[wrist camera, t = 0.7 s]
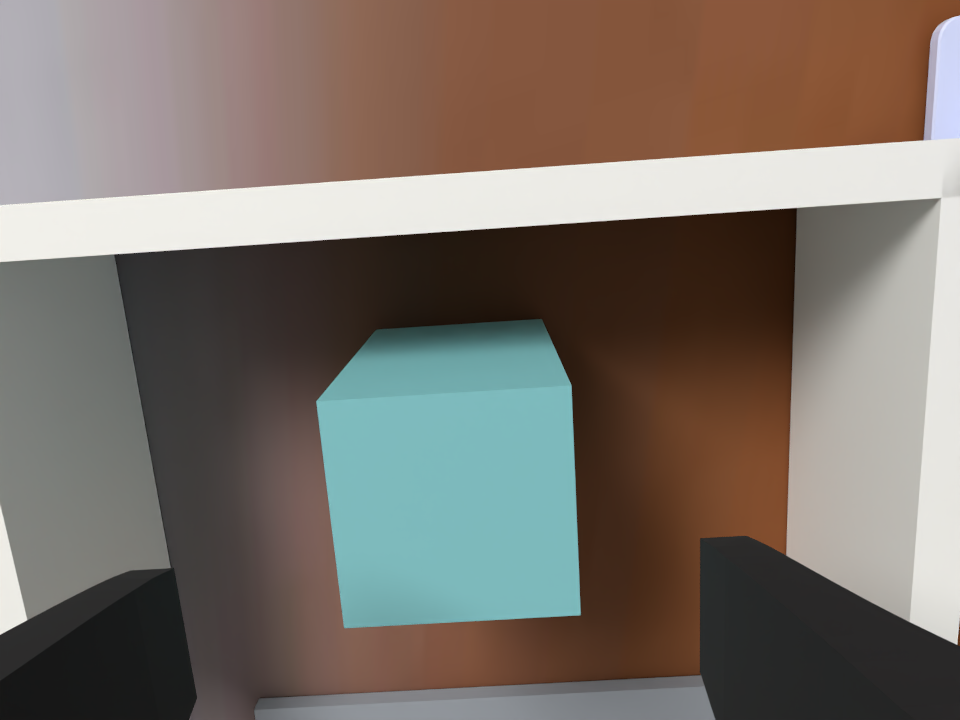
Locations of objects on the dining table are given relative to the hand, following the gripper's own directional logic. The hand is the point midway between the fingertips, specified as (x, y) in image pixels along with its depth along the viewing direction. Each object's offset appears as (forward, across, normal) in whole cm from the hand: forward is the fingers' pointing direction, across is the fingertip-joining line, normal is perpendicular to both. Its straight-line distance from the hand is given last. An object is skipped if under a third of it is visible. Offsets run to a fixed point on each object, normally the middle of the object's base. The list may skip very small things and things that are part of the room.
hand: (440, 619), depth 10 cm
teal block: (+10, 0, 0) cm, 10 cm away
